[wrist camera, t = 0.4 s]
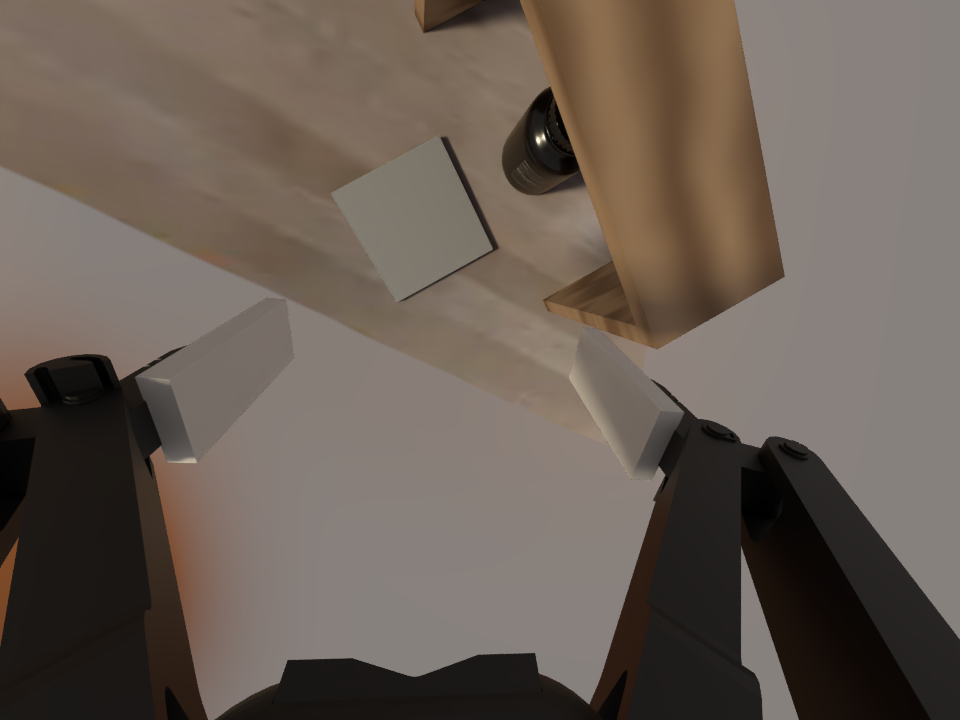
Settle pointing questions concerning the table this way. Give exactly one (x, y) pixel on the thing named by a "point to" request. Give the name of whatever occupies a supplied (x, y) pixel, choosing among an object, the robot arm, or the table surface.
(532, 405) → the table surface
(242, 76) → the table surface
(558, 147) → the supplement bottle
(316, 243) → the table surface
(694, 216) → the bridge
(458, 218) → the coaster
